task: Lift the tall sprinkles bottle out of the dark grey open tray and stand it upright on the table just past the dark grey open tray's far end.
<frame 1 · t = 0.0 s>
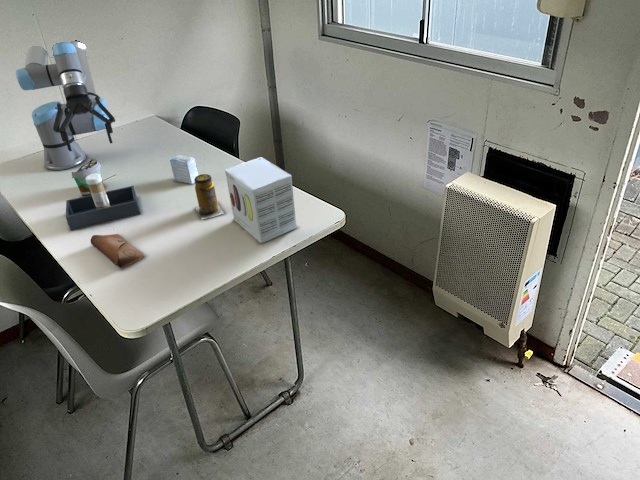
hand: (90, 146, 178), 15 cm above the table, tool tilted 35°, fingers open, 13 cm apart
sprinkles bottle: (105, 213, 169), resting on dark grey open tray
sunglasses case: (118, 252, 150), on the table
medicine box: (187, 180, 186), on the table
supplement box: (264, 224, 158), on the table
dark grey open tray: (105, 213, 169), on the table
food container: (97, 190, 183), on the table
condiment: (209, 211, 166), on the table
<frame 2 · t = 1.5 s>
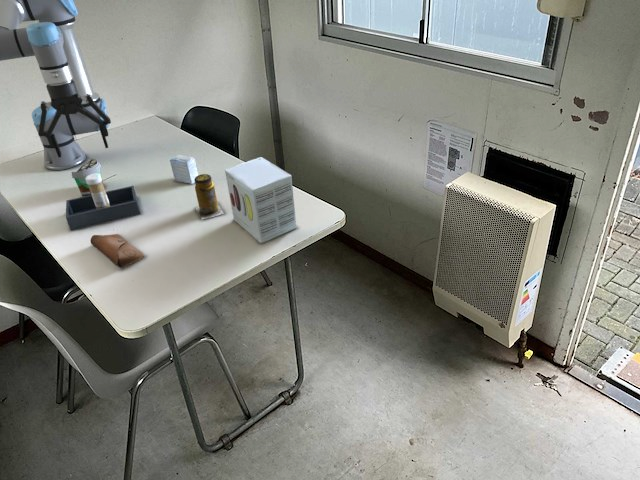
hand: (83, 151, 156), 22 cm above the table, tool pointing down, fingers open, 13 cm apart
nothing on the table moved.
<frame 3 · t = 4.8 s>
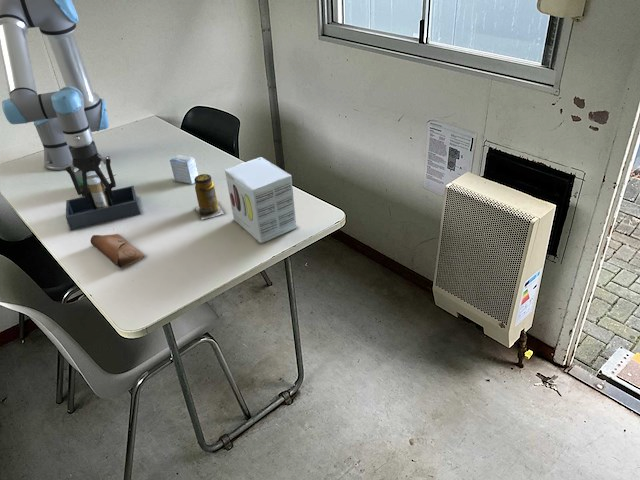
hand: (103, 208, 168), 2 cm above the table, tool pointing down, fingers closed on sprinkles bottle, 4 cm apart
sprinkles bottle: (105, 212, 169), resting on dark grey open tray, touching gripper
everything else where it was.
when the fingers open (1 cm above the table, at t = 13.9 s): sprinkles bottle stays where it is, on the table.
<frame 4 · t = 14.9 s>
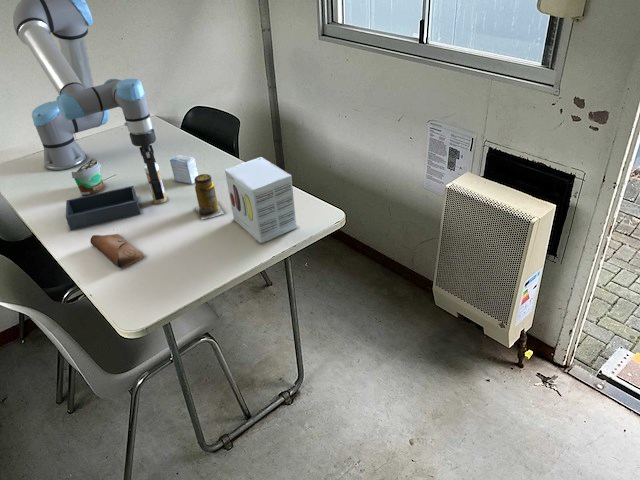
hand: (157, 190, 172), 4 cm above the table, tool pointing down, fingers open, 13 cm apart
sprinkles bottle: (160, 201, 174), on the table
everything else where it was.
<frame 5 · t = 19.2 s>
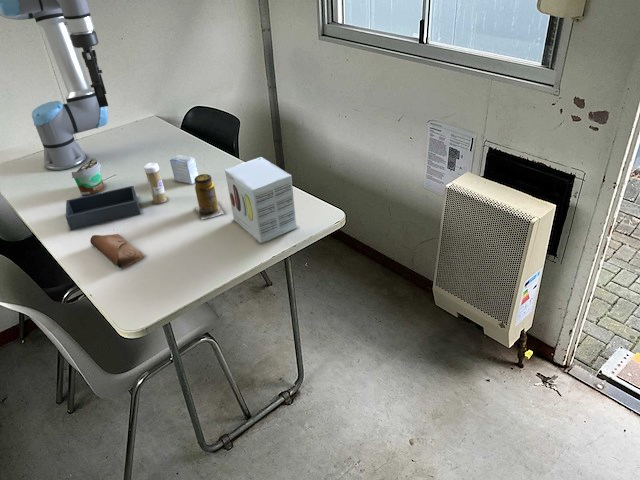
hand: (103, 100, 167), 32 cm above the table, tool pointing down, fingers open, 13 cm apart
nothing on the table moved.
at the end: sprinkles bottle inside the target area (0.5 cm from its centre), on the table; sprinkles bottle tilted 0°; the gripper is holding nothing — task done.
